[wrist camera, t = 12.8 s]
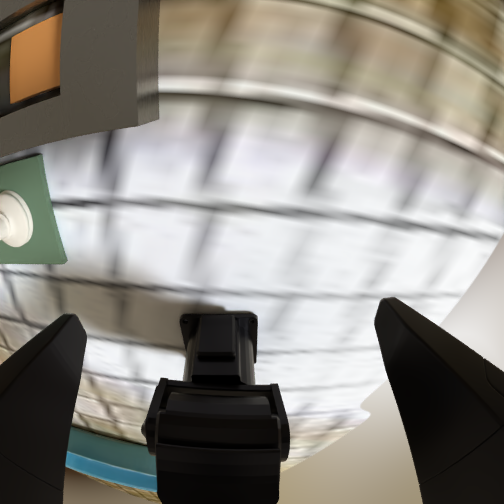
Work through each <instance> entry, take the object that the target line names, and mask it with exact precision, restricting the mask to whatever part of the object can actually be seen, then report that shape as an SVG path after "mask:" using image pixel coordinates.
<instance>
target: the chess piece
mask: <svg viewBox="0 0 504 504" xmlns="http://www.w3.org/2000/svg"><path fill="white" fill-rule="evenodd" d="M32 232H33V220H32V216H31V213H30V210H29V208H28V206H27V204H26V202H25V201H24V200H23V198H22V197H21V196H20V195H18V194H17V193H15V192H13V191H10V190H6V191H3V192H1V193H0V240H3V241H4V242H5V243H6V244H8V245H10V246H12V247H20V246H22V245H24V244H25V243H27V242H28V241H29V240H30V238H31V236H32Z"/></svg>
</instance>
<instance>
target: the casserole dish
mask: <svg viewBox="0 0 504 504" xmlns="http://www.w3.org/2000/svg"><path fill="white" fill-rule="evenodd" d="M66 467H69V468H71V469H74V470H76V471H79V472H81V473H84V474H87V475H90V476H93V477H96V478H100V479H103V480H106V481H110V482H113V483H117V484H121V485H125V486H129V487H133V488H138V489H143V490H148V491H153V492H157V477H156V458H155V456H151V455H150V454H149V452H148V448H147V446H142V445H138V444H134V443H129V442H125V441H121V440H117V439H113V438H109V437H106V436H102V435H97V434H95V433H92V432H88V431H85V430H82V429H79V428H75V427H72V426H71V430H70V436H69V443H68V450H67V457H66Z"/></svg>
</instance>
